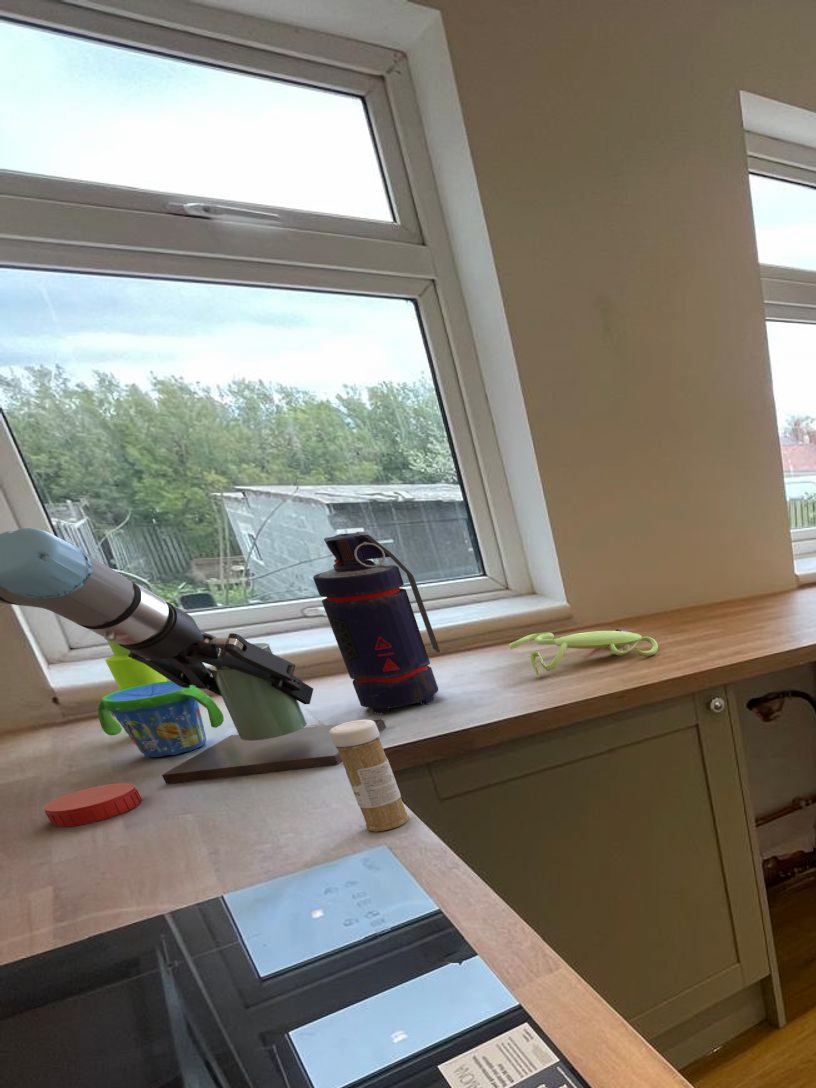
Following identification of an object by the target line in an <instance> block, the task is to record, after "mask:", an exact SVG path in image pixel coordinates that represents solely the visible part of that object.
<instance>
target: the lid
mask: <svg viewBox="0 0 816 1088" xmlns="http://www.w3.org/2000/svg"><path fill="white" fill-rule="evenodd" d="M142 800H143V799H142V797H141V795H140V793H139V790H138V789H137V788H136V787H135V785H134V784H133V783H130V782H116V783H107V784H102V785H97V786H93V787H89V788H88V787H87V788H84V789H82V790H77V791H74V792H71V793H67V794H65V795H62V796H60V797H58V798H55V799H53V800H52V801H49V802H48V803H47V804H45V805H44V806H43V810H44V813H45V815H46V816H47V818H48V820H49V822H50V824H51V825H52V826H55V827H61V828H62V827H63V828H65V827H76V826H81V825H87V824H92V823H96V822H100V821H104V820H107V819H110V818H113V817H116V816H119V815H122V814H124V813H127V812H129V811H131V810H133V809H134V808H136V807H138V806H139V805H140V804H141V803H142Z"/></svg>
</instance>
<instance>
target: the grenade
mask: <svg viewBox="0 0 816 1088" xmlns="http://www.w3.org/2000/svg"><path fill="white" fill-rule="evenodd" d="M323 541H324V542H325V544H326V546H327V548H328V550H329V552H330V553H331V554H332V556H333V557H334V558H335V559H334V560H333V562H334V564H333V565H332V566H333V568H332V569H329V570H327V571H324V572H320V573H316V574H314V575H313V577H312V579H313V582H314V585H315V587H316V590H317V592H318V595H319V596H320V597H323V598H324V599H322V600H321V604H322V606H323V609H324V611H325V615H326V616H327V619H328V622H329V626H330V628H331V630H332V632H333V635H334V636H333V637H334V638H335V641H336V644H337V646H338V649H339V652H340V654H341V657H342V659H343V662H344V665H345V669H346V671H347V673H348V676H349V679H351V680H352V685H353V688H354V690H355V693H356V697H357V699H358V702H359V705H360V706H362V707H363V708H368V709H371V710H372V712H373V713H374V714H379V715H381V714H388V713H389V712H390V709H393V708H400V707H405V706H409V705H413V704H416V703H421V705H423V706H424V705H425V706H426V705H428V704H431V703H432V702H434V701H435V697H434V695H436V694H437V693H438V692H439V686H438V684H437V680H436V678H435V675H434V672H433V668H432V667H431V666H429V665H431V661H430V659H429V655H428V653H427V649H426V646H425V644H424V639H423V637H422V634H421V631H420V629H419V626H418V622H417V619H416V616H415V613H414V609H413V607H412V604H411V601H410V598H409V594H408V591H407V589H405V588H401V587H402V586H404V584H405V583H404V580H403V577H402V573H401V570H402V571H403V572H404V574H406V576H407V579H408V582H409V585H410V587H411V590H412V593H413V596H414V598H415V602H416V604H417V607H418V609H419V613H420V615H421V618H422V621H423V624H424V626H425V630H426V632H427V636H428V638H429V640H430V643H431V646H432V649H433V650H434V651H435V652H436V653H440V652H441V649H440V647H439V645H438V641H437V639H436V635H435V633H434V630H433V628H432V625H431V622H430V619H429V615H428V613H427V611H426V608H425V605H424V602H423V599H422V597H421V594H420V590H419V588H418V585H417V582H416V579H415V577H414V574H412V572H411V571H410V570H409V569H408V568H407V567H406V566H405V565H404V564H403V563H402V562H401V561H400V560H399V559H398V558H397V557H396V556H395V555H394V554H393V553H392V552H391V551H390V550H388V549H387V548H386V547H385V546H384V545H382V544H381V543H380V542H379V541H377V540H376V539H375V538H374V537H372V536H371V535H370V534H369V533H367V532H366V531H356V532H352V533H340V534H336V535H334V536H328V537H324V539H323ZM386 558H390V559H391V560H392V561H393V562H394V563H395V565H394V564H384V563H385V560H386ZM374 559H375V560H376V559H382V560H381V561H380V562H379V563H375V562H374V561H373V560H374ZM397 565H398V566H397ZM400 569H401V570H400Z"/></svg>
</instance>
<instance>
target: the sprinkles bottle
mask: <svg viewBox="0 0 816 1088" xmlns="http://www.w3.org/2000/svg"><path fill="white" fill-rule="evenodd" d="M372 720H373V719H358V720H351V721H347V722H343V724H342V723H339V724H340V725H337V726H335V727H333V728H332V729H331V730H330V731H329V734H330V737H331V740H332V742H333V744H334V745H335V746H336V748H337V749H338V752H339V755H340V757H341V759H342V762H341V763H342V765H343V768H344V770H345V774H346V777H347V779H348V782H349V784H350V787H351V789H352V792H353V795H354V797H355V800H356V802H357V805H358V807H359V808H360V811H361V814H362V816H363V819H364V822H365V827H366V829H367V830H368V831H370V832H383V831H387V830H392V829H394V828H398V827H400V826H402V825H404V824H406V823H407V822H408V821H409V819H410V814H409V813H408V812H407V811H406V807H405V805H404V803H403V799H402V796H401V792H400V789H399V786H398V783H397V781H396V778H395V775H394V772H393V770H392V766H391V764H390V761H389V759H388V757H387V755H386V753H385V750H384V747H383V745H382V741H381V737H380V735H381V734H380V732H379V731H378V728H377V726H376V723H375V722H374V721H372Z"/></svg>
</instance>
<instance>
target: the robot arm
mask: <svg viewBox="0 0 816 1088" xmlns="http://www.w3.org/2000/svg"><path fill="white" fill-rule="evenodd" d="M0 604H6V605H14V606H23V607H32V608H38V609H39V608H40V609H44V610H47V611H50V612H53V613H55V614H56V615H59V616H60V617H62V618H65V619H67V620H68V621H70V622H73V623H75V624H76V625H78V626H81V627H82V628H85V629H87V630H89V631H91V632H93V633H95V634H97V635H99V636H101V637H103V639H104V640H106V641H107V640H108V641H112V642H115V643H117V644H118V645H120V646H121V647H123V648H125V649H127V650H129V651H130V652H129V654H128V657H130V658H132V659H135V660H137V661H139V662H142V663H144V664H146V665H147V666H149V667H150V668H152V669H154V670H155V671H157V672H158V673H160V674H161V675H163V676H164V677H166V678H167V680H168V681H172V682H174V683H175V684H177V685H178V686H180V687H183V688H189V687H190V685H195V686H196V687H197V689H199V690H201V689H202V690H208V691H209V692H212V693H213V694H216V695H217V696H220V697H222V696H221V694H220V691H219V689H218V687H217V685H216V682H215V680H214V678H213V676H211V675H212V673H211V671H210V667H207V666H206V665H209V666H211V667H212V666H215V667H218V668H222V667H228V668H231V669H234V670H237V671H240V672H243V673H246V674H249V675H252V676H255V677H258V678H261V679H264V680H267V681H270V682H272V685H271V686H273V688H276V689H278V690H280V691H282V692H283V693H285V694H287V695H289V696H291V697H292V698H294V699H296V700H297V701H298V703H299V702H300V703H301V704H303V705H310V704H311V701H312V697H313V694H314V688H313V687H312V686H310V685H308V684H307V683H305V682H304V681H303V680H302V679H300V678H299V677H296V676H295V675H294V673H295V670H296V664H295V663H292V662H290V661H288V660H286V659H285V658H282V657H280V656H279V655H278V656H279V657H278V656H276V655H277V654H274V653H273V654H272V653H270V652H268V651H266V650H264V649H262V648H260V647H258V646H256V645H253V644H254V643H251V642H249V641H247V640H246V639H245V638H244V637H243V636H241V635H240V634H237V633H233V632H230V633H229V634H228V637H227V638H224V637H223V638H222V637H220V638H219V637H216V636H215V635H213V634H210V633H207V632H205V631H202V630H201V629H200V627H199V626H198V625H197V623H196V620H194V617H192V616H191V615H190V614H188V613H187V612H185V611H183V610H182V609H181V608H179V607H177V606H176V605H174V604H172V603H171V602H168V601H165V600H164V598H162V597H161V596H159V595H157V594H156V593H154V592H152V591H151V590H149V589H147V588H146V587H143V586H142V585H140V584H138V583H137V582H135V581H132V580H131V579H129V578H127V577H126V576H124V575H123V574H121V573H120V572H117V571H116V570H115V569H113V568H111V567H109V566H108V565H106V564H104V563H103V562H101V561H100V560H98V559H96V558H95V557H93V556H92V555H90V554H88V553H86V552H85V551H83V550H82V549H81V548H80V547H78V546H76V545H75V544H73V543H72V542H70V541H67V540H65V539H61V538H60V537H58V536H56V535H54V534H52V533H50V532H48V531H46V530H43V529H41V528H36V527H19V528H18V529H16V530H7V531H4V532H2V533H0ZM108 641H107V642H108ZM220 649H221V652H220V655H219V658H218V660H216V659H217V657H218V654H219V650H220Z"/></svg>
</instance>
